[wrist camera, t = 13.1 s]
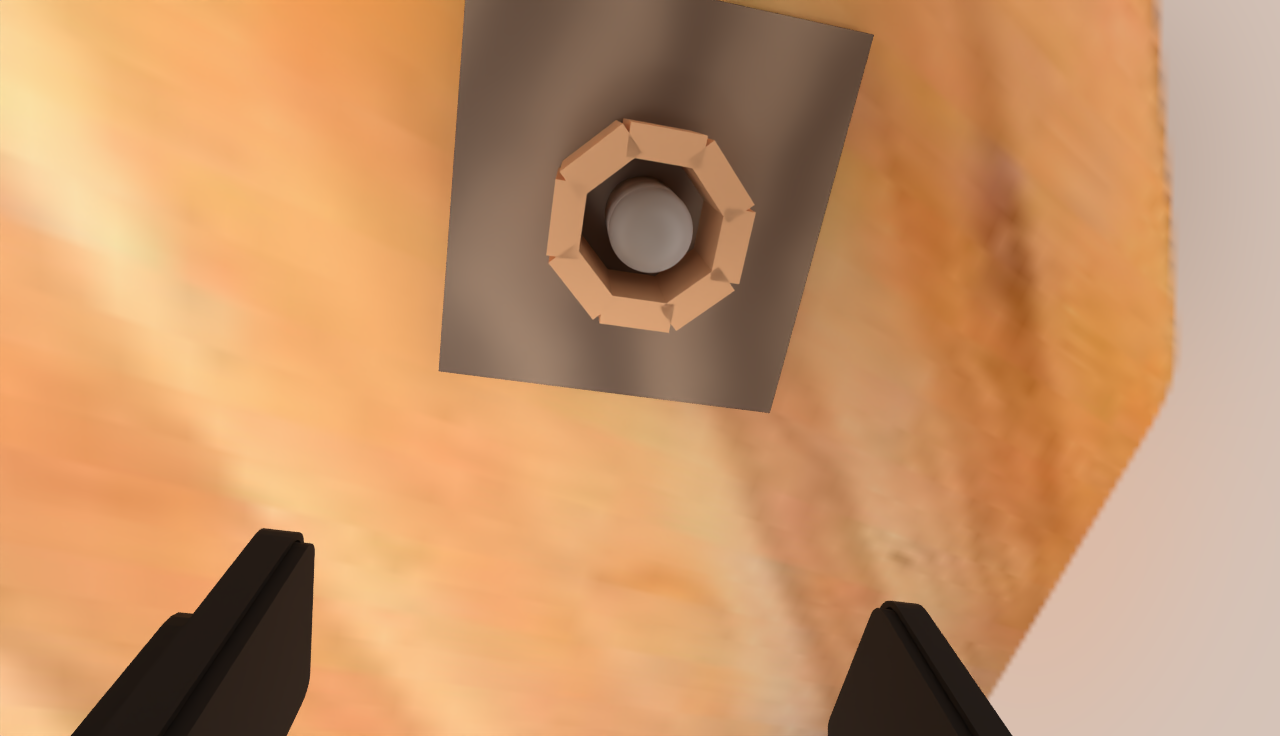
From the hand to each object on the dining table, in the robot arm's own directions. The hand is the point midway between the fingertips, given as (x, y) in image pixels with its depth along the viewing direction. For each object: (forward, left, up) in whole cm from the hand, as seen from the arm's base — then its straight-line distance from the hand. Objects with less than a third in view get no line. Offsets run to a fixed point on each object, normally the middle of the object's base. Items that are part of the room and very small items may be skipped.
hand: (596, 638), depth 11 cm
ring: (-2, -4, -19) cm, 19 cm away
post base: (-2, -4, -20) cm, 20 cm away
